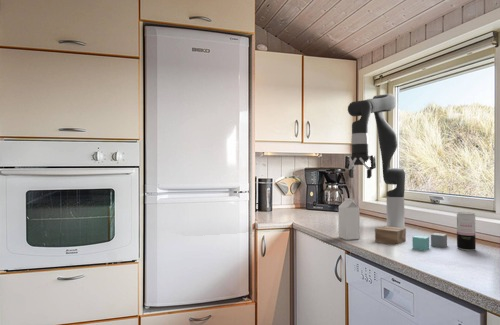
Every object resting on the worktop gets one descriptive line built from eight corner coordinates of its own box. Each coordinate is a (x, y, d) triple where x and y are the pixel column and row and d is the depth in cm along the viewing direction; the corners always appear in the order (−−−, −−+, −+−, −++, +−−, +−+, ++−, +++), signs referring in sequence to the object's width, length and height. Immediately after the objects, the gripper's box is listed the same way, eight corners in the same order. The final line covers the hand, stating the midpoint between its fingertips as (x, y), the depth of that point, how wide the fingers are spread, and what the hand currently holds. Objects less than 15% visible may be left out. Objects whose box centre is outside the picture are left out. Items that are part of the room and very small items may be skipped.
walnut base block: (384, 238, 168) (384, 226, 168) (405, 241, 161) (405, 228, 161) (375, 241, 160) (375, 228, 160) (397, 245, 153) (397, 231, 153)
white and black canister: (458, 246, 150) (458, 211, 150) (476, 248, 145) (476, 212, 146) (455, 249, 145) (455, 212, 145) (474, 251, 140) (474, 214, 141)
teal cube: (416, 246, 149) (416, 235, 149) (429, 248, 146) (429, 236, 146) (412, 248, 146) (412, 236, 146) (425, 250, 142) (425, 238, 142)
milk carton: (346, 240, 163) (346, 199, 163) (338, 237, 170) (338, 198, 170) (359, 239, 165) (359, 199, 165) (351, 236, 171) (351, 197, 172)
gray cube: (434, 244, 155) (434, 232, 155) (447, 245, 151) (447, 234, 151) (431, 246, 151) (430, 234, 151) (443, 247, 148) (443, 235, 148)
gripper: (378, 143, 161) (378, 178, 161) (349, 144, 171) (349, 177, 171) (370, 142, 156) (371, 178, 156) (342, 143, 166) (342, 177, 166)
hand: (360, 178), depth 163 cm, fingers open, 8 cm apart
